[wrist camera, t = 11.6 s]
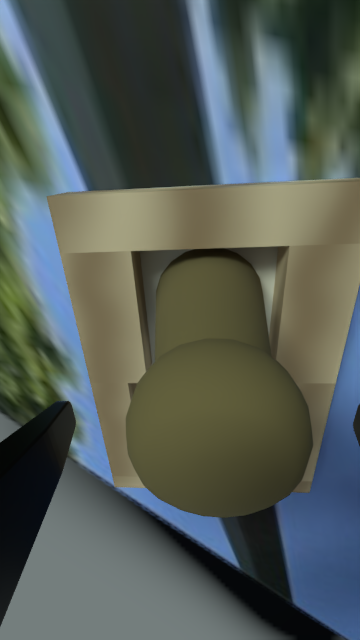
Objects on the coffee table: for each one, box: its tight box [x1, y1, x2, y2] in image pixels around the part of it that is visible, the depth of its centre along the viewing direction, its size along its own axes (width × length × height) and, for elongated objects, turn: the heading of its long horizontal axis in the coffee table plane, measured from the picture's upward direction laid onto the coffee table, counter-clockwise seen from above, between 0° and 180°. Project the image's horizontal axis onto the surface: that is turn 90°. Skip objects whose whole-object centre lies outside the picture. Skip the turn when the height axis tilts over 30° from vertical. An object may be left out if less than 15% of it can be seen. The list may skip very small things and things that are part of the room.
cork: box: [126, 248, 313, 518], centre depth 12 cm, size 6×6×11 cm
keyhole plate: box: [47, 178, 360, 493], centre depth 18 cm, size 14×20×2 cm
